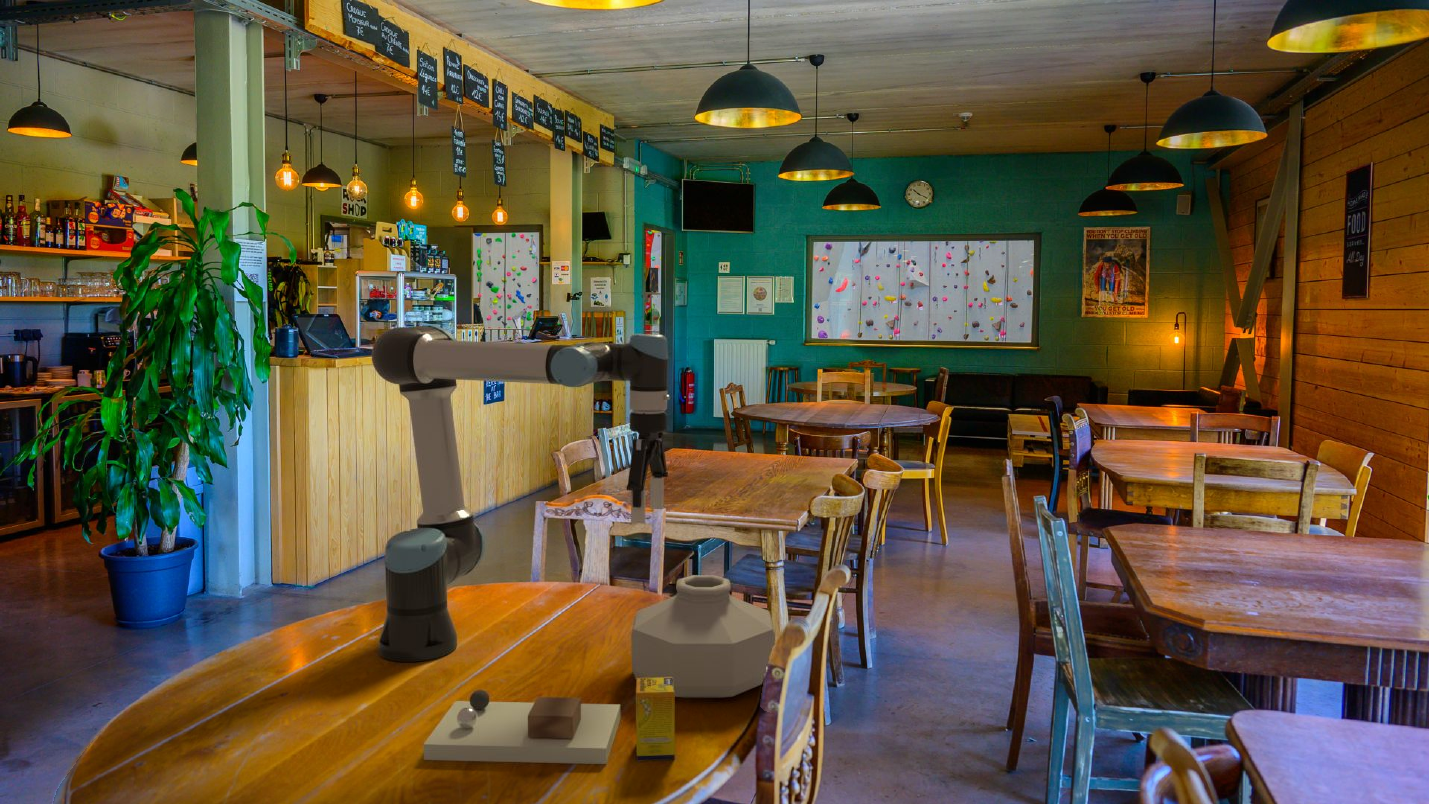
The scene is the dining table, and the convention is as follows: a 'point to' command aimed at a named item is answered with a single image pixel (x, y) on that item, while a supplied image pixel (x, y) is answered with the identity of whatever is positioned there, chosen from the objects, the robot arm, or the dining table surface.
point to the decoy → (479, 699)
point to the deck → (522, 736)
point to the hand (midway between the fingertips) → (647, 515)
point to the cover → (554, 717)
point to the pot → (703, 640)
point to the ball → (467, 718)
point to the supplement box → (655, 718)
